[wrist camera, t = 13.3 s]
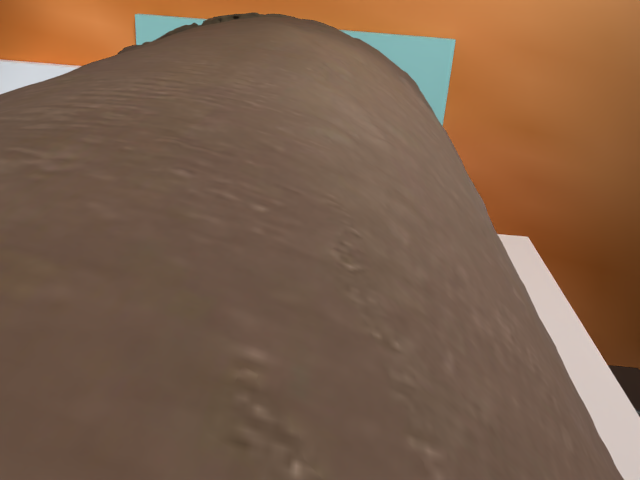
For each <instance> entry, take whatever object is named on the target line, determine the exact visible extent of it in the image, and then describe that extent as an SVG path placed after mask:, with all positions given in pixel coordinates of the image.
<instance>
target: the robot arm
mask: <svg viewBox="0 0 640 480" xmlns="http://www.w3.org/2000/svg"><path fill="white" fill-rule="evenodd" d="M497 235H498V236H499V238H500V240H501V242H502V243H503V245H504V247H505V249H506V251H507V254H508V256H509V257H510V259H511V261H512V263H513V265H514V267H515V269H516V271H517V273H518V275H519V277H520V279H521V281H522V282H523V283H524V285H525V287H526V290H527V292H528V294H529V296H530V298H531V301H532V303H533V305H534V307H535V309H536V311H537V313H538V316H539V318H540V319H541V321H542V323H543V324H544V326H545V328H546V330H547V332H548V333H549V335H550V337H551V339H552V340H553V342H554V344H555V346H556V348H557V351H558V353H559V355H560V357H561V359H562V361H563V363H564V365H565V368H566V370H567V372H568V374H569V376H570V378H571V380H572V382H573V384H574V386H575V388H576V390H577V392H578V394H579V396H580V397H581V399H582V401H583V402H584V404H585V406H586V408H587V410H588V412H589V414H590V416H591V418H592V420H593V422H594V425H595V427H596V429H597V432H598V434H599V436H600V437H601V439H602V441H603V442H604V444H605V446H606V447H607V449H608V451H609V453H610V455H611V457H612V459H613V461H614V464H615V466H616V468H617V469H618V471H619V473H620V474H621V476H622V477H623V479H624V480H640V370H639V369H638V368H632V367H621V366H611V365H607V363H606V362H605V360H604V359H603V357H602V355H601V354H600V352H599V351H598V349H597V347H596V346H595V344H594V343H593V341H592V339H591V338H590V336H589V334H588V333H587V331H586V330H585V328H584V326H583V325H582V323H581V322H580V320H579V318H578V317H577V315H576V313H575V312H574V310H573V309H572V307H571V305H570V304H569V302H568V301H567V299H566V297H565V296H564V294H563V293H562V291H561V289H560V288H559V286H558V284H557V283H556V281H555V280H554V278H553V276H552V275H551V273H550V272H549V270H548V268H547V267H546V265H545V264H544V262H543V260H542V259H541V257H540V255H539V254H538V252H537V251H536V249H535V247H534V246H533V244H532V243H531V241H530V239H529V238H528V237H524V236H513V235H502V234H497Z"/></svg>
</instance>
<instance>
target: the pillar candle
mask: <svg viewBox="0 0 640 480" xmlns="http://www.w3.org/2000/svg"><path fill="white" fill-rule="evenodd" d="M0 480H624V479H623V477H622V476H621V474H620V473H619V471H618V469H617V468H616V466H615V464H614V461H613V459H612V457H611V455H610V453H609V451H608V449H607V447H606V446H605V444H604V442H603V441H602V439H601V437H600V436H599V434H598V432H597V429H596V427H595V425H594V422H593V420H592V418H591V416H590V414H589V412H588V410H587V408H586V406H585V404H584V402H583V401H582V399H581V397H580V396H579V394H578V392H577V390H576V388H575V386H574V384H573V382H572V380H571V378H570V376H569V374H568V372H567V370H566V368H565V365H564V363H563V361H562V359H561V357H560V355H559V353H558V351H557V348H556V346H555V344H554V342H553V340H552V339H551V337H550V335H549V333H548V332H547V330H546V328H545V326H544V324H543V323H542V321H541V319H540V318H539V316H538V313H537V311H536V309H535V307H534V305H533V303H532V301H531V298H530V296H529V294H528V292H527V290H526V287H525V285H524V283H523V282H522V281H521V279H520V277H519V275H518V273H517V271H516V269H515V267H514V265H513V263H512V261H511V259H510V257H509V256H508V254H507V251H506V249H505V247H504V245H503V243H502V242H501V240H500V238H499V236H498V235H497V233H496V231H495V229H494V227H493V224H492V222H491V220H490V218H489V216H488V213H487V210H486V207H485V204H484V202H483V200H482V198H481V197H480V195H479V194H478V192H477V190H476V188H475V186H474V184H473V182H472V181H471V179H470V178H469V176H468V174H467V172H466V171H465V168H464V166H463V164H462V160H461V158H460V157H459V155H458V153H457V151H456V149H455V147H454V146H453V144H452V141H451V140H450V138H449V136H448V134H447V132H446V131H445V129H444V128H443V126H442V125H441V123H440V122H439V120H438V119H437V117H436V115H435V113H434V111H433V110H432V108H431V106H430V105H429V103H428V102H427V100H426V99H425V97H424V95H423V94H422V92H421V91H420V89H419V87H418V85H417V83H416V82H415V81H414V80H413V79H412V78H411V77H410V76H409V75H408V73H406V72H405V71H403V70H402V69H401V68H400V67H398V66H397V65H396V64H395V63H393V62H392V61H391V60H390V59H389V58H387V57H386V56H385V55H384V54H382V53H381V52H380V51H379V50H377V49H375V48H374V47H372V46H370V45H369V44H367V43H366V42H364V41H362V40H361V39H358V38H353V37H351V36H350V35H348V34H346V33H344V32H342V31H340V30H338V29H336V28H334V27H331V26H329V25H326V24H324V23H321V22H317V21H314V20H306V19H298V18H295V17H291V16H286V15H281V14H267V15H263V14H258V13H247V14H233V15H225V16H218V17H213V18H210V19H208V20H205V21H203V23H202V25H198V24H196V23H192V24H191V25H183V26H181V27H178V28H176V29H174V30H172V31H169V32H167V33H166V34H164V35H163V36H161V37H159V38H157V39H156V40H154V41H152V42H144V43H143V44H142V45H132V46H129V47H125V48H124V49H123V50H122V51H120V52H119V53H118V55H115V56H112V57H109V58H105V59H102V60H99V61H95V62H92V63H89V64H87V65H84V66H81V67H79V68H77V69H75V70H72V71H70V72H68V73H65V74H63V75H60V76H57V77H54V78H51V79H48V80H45V81H42V82H38V83H35V84H31V85H27V86H24V87H21V88H18V89H15V90H12V91H9V92H6V93H3V94H0Z"/></svg>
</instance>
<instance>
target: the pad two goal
mask: <svg viewBox="0 0 640 480" xmlns="http://www.w3.org/2000/svg"><path fill="white" fill-rule="evenodd" d="M205 20H208V19H198V18H185V17H173V16H160V15H148V14H135V27H136V45H142V44H143V43H144V42H152V41H154V40H156V39H157V38H159V37H161V36H163V35H164V34H166V33H167V32H169V31H172V30H174V29H176V28H178V27H181V26H183V25H191V24H192V23H196V24H198V25H202V23H203V21H205ZM340 31H342V32H344V33H346V34H348V35H350V36H351V37H353V38H358V39H361V40H362V41H364V42H366V43H367V44H369V45H370V46H372V47H374V48H375V49H377V50H379V51H380V52H381V53H382V54H384V55H385V56H386V57H387V58H389V59H390V60H391V61H392V62H393V63H395V64H396V65H397V66H398V67H400V68H401V69H402V70H403V71H405V72H406V73H408V75H409V76H410V77H411V78H412V79H413V80H414V81H415V82H416V83H417V85H418V87H419V89H420V91H421V92H422V94H423V95H424V97H425V99H426V100H427V102H428V103H429V105H430V106H431V108H432V110H433V111H434V113H435V115H436V117H437V119H438V120H439V122H440V123H441V125H442V126H443V120H444V113H445V107H446V100H447V94H448V87H449V80H450V74H451V67H452V61H453V54H454V47H455V41H456V40H455V39H448V38H435V37H423V36H410V35H398V34H385V33H373V32H360V31H348V30H340Z"/></svg>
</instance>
